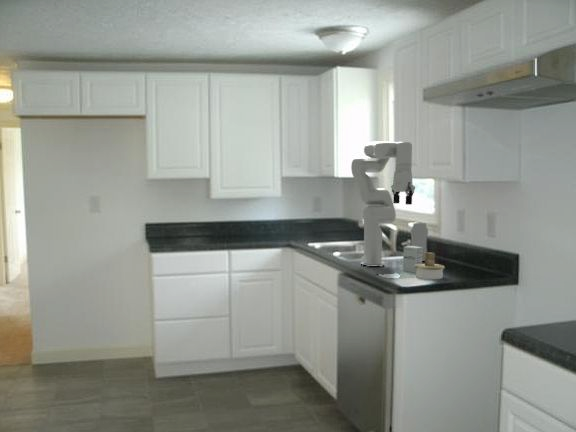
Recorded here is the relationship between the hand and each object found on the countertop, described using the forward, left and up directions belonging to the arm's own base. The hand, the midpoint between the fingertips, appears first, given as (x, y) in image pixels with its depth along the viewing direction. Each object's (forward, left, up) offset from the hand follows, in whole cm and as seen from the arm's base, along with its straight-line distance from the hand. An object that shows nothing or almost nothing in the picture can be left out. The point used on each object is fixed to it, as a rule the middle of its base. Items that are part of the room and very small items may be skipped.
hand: (402, 203), depth 289 cm
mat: (+4, -7, -34) cm, 35 cm away
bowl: (+13, +7, -34) cm, 37 cm away
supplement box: (-5, +11, -35) cm, 37 cm away
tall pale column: (-32, +36, -34) cm, 59 cm away
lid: (+13, +7, -29) cm, 33 cm away
